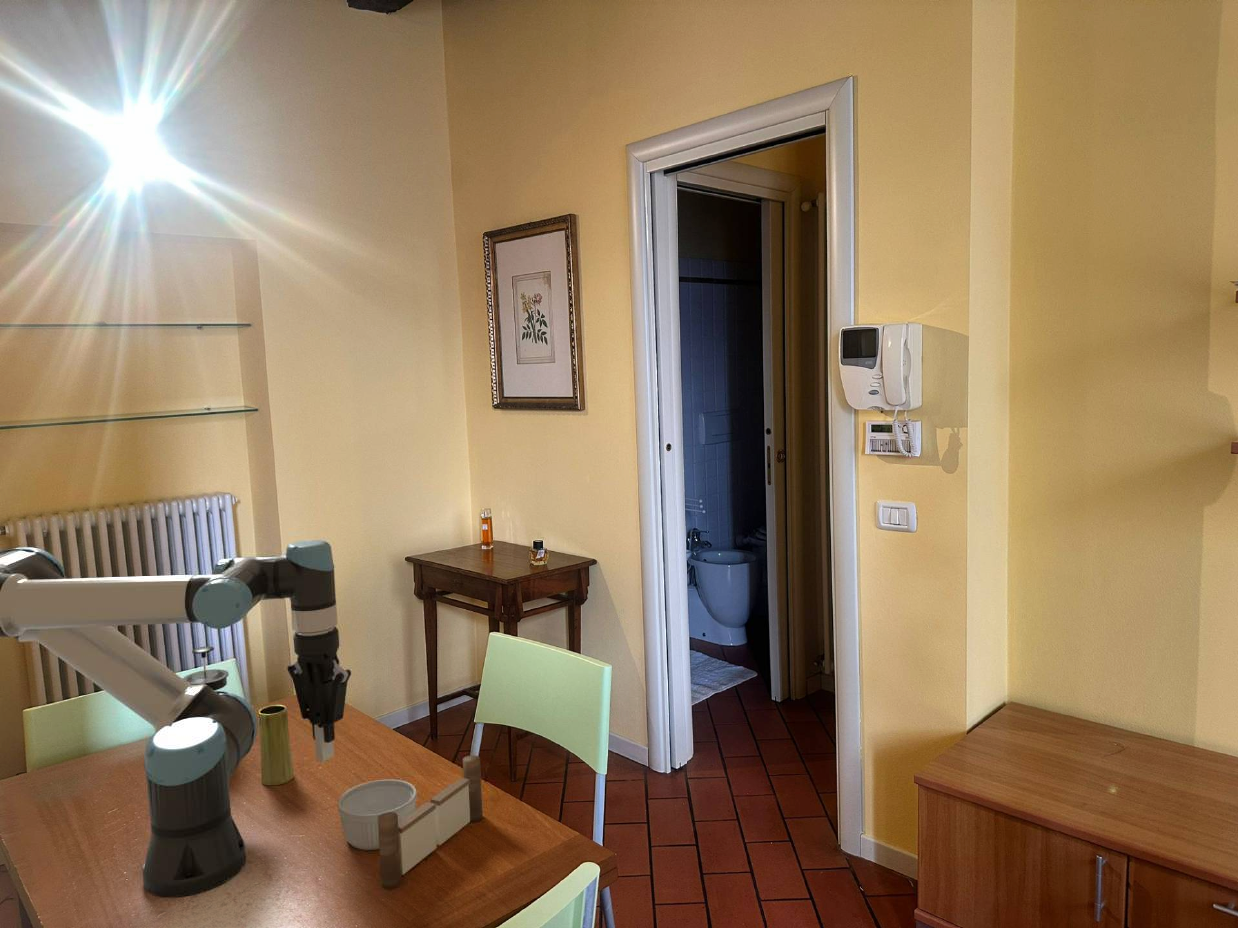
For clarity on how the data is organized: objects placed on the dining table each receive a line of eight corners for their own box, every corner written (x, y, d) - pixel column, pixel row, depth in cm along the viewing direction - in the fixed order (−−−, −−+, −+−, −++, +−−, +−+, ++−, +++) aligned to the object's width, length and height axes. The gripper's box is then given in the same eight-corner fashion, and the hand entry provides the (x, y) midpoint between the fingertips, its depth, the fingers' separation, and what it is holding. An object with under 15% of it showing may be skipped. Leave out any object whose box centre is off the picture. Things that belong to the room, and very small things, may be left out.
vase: (287, 785, 173) (281, 715, 172) (255, 786, 174) (250, 715, 172) (298, 771, 179) (294, 703, 178) (268, 771, 180) (263, 703, 178)
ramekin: (337, 823, 159) (335, 786, 158) (413, 808, 163) (411, 772, 162) (342, 861, 146) (340, 821, 145) (424, 844, 151) (421, 805, 150)
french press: (175, 757, 187) (165, 651, 185) (213, 740, 196) (205, 638, 193) (213, 767, 182) (204, 658, 179) (250, 749, 190) (242, 645, 188)
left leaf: (404, 874, 141) (401, 828, 140) (395, 872, 142) (392, 825, 141) (437, 848, 149) (435, 803, 148) (429, 845, 149) (426, 801, 148)
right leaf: (441, 845, 149) (439, 801, 149) (433, 842, 150) (430, 798, 149) (471, 821, 157) (469, 779, 156) (463, 819, 158) (461, 777, 157)
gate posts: (392, 890, 138) (388, 823, 136) (377, 886, 139) (373, 819, 138) (486, 815, 160) (483, 756, 159) (472, 812, 161) (469, 754, 160)
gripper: (359, 626, 156) (368, 755, 159) (304, 619, 162) (314, 743, 165) (327, 639, 150) (338, 773, 153) (271, 631, 156) (282, 760, 158)
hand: (325, 757), depth 159 cm, fingers closed
